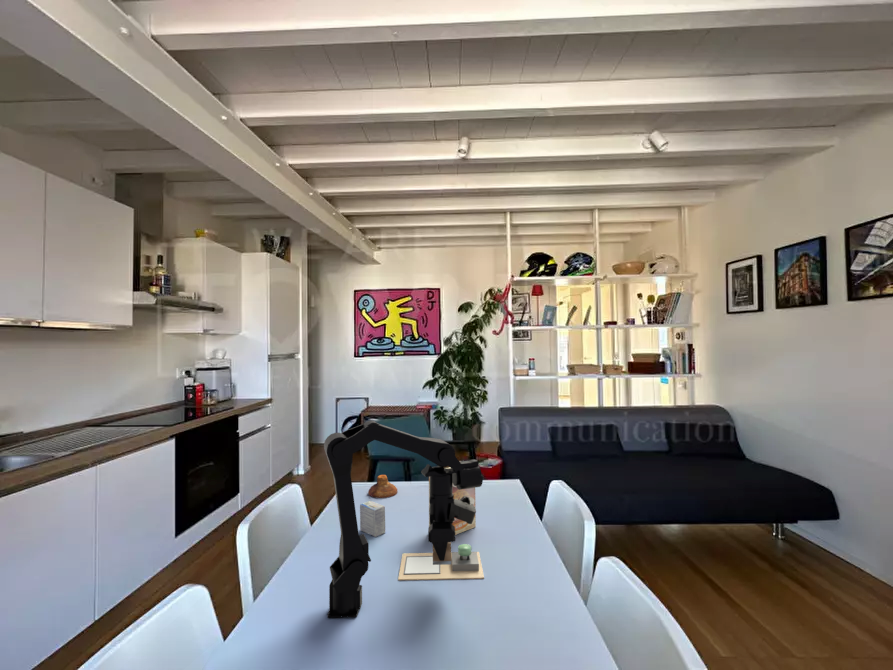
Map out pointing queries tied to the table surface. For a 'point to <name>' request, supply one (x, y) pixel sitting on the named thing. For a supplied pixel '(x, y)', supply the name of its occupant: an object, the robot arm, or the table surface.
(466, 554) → the button
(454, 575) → the tan rectangular board
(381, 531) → the medicine box
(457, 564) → the button housing
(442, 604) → the table surface
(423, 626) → the table surface
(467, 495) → the coffeecake box
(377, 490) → the bell
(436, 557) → the block
